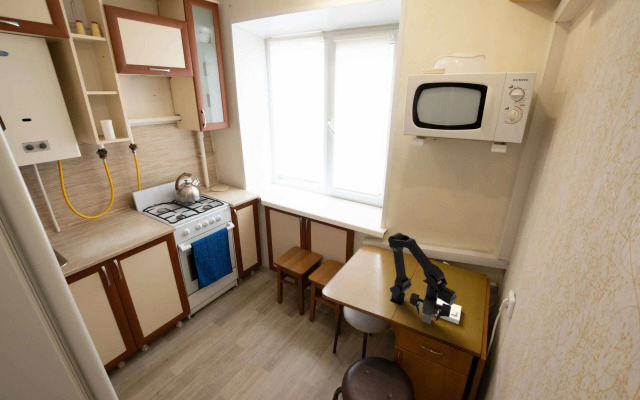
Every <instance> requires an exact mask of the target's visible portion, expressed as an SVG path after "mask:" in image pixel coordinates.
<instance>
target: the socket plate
mask: <svg viewBox="0 0 640 400" xmlns="http://www.w3.org/2000/svg"><path fill="white" fill-rule="evenodd" d="M443 303H444V304H447V303H445V302H444V301H442V300H441V299H439V298H438V299H437V304H439V305H443ZM447 305H449V304H447ZM438 311H439V309H438ZM461 311H462V305H458V304H455V303H453V305H451V311H450V316H449V317H446V316H441V317H440V318H439V319H442V320H445V321H448V322H450V323H454V324H457V325H459V322H460V319H461ZM437 314H438V313H437ZM433 316H434V317H437V315H436V314H435V315H433Z"/></svg>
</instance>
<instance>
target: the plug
mask: <svg viewBox="0 0 640 400" xmlns="http://www.w3.org/2000/svg"><path fill="white" fill-rule="evenodd" d="M432 319H433V315H432V316H429V315H427V314H424V313H423V314H422V319H421V322H423V323H425V324H429V325H431V323H432Z"/></svg>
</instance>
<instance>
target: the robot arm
mask: <svg viewBox="0 0 640 400" xmlns="http://www.w3.org/2000/svg"><path fill="white" fill-rule="evenodd" d="M387 242H388V246H389V248H390V249H391V250H392V254H393V260H394V267H395V268H394V269H395V275H396V276H395V280H394V282H393V283H394V285H393V286H391V287H389V292H390V293H391V297H390V300H389V301H390V302H392V303H395V304H397V305H400V306H403V304H404V303H405V302H406V301H405V300H406V292H407V291H408V290H409V289H411V287H412V285H413V284H412V280H411V278H410V277H408V276H407V273H406V264H405V257H404V251H403V250H404V248H405V249H407V250H409V252H410V253H411V255H412V256H413V258H414V259H415V260H416V262H417V263H418V264H419V265H420V267H421V269H422V271H423V275H424V277H425V279H423V280H422V282H423V283H425V284H426V289H425V295H424V298H421V295H420V294H418V293H415V292H413V293H411V294H410V297H409V299H408V301H409V302H408V303H409V304H411V305H412V306H413V307H415V308H416V311H417V314H418V316H420V313H421V312H422V313H424V314H427V315H429V316H432V317H433V316H434V315H435V314H436V315H437V316H435V322H437V321H438V320H439V319H441V318H440V317H441V316H446V317H449V316H450V311H451V305H453V304H455V302H456V300H457V293H456V291H455V290H453V289H451V288H449V287H447V286H448V282H447V279H446V277H445V273H444V272H443V270H442V269H441V267H439V266H438V265H436V264H434V263H432V261H431V260H430V259H429V257H428V256H427V255H426V254H425V252H424V250H422V249H421V248H420V246H419V245H418V243H417V241H416V239H415V238H411V237H410V236H409V235H406V234H403V233H402V232H397V233H394V234H392V235H390V236H389V237H388V238H387ZM437 299H441V300H442V301H444V302H445V303H447V304H449V305H447V304H444V303H443V305H439V304H437ZM421 306H422V308H421ZM438 309H439V311H438ZM437 313H438V314H437Z"/></svg>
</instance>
